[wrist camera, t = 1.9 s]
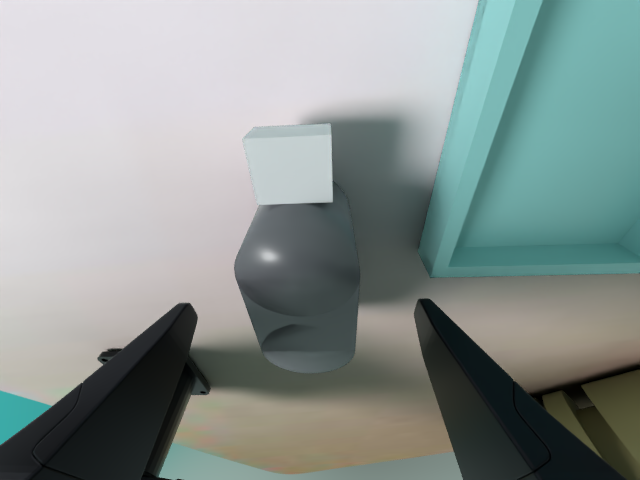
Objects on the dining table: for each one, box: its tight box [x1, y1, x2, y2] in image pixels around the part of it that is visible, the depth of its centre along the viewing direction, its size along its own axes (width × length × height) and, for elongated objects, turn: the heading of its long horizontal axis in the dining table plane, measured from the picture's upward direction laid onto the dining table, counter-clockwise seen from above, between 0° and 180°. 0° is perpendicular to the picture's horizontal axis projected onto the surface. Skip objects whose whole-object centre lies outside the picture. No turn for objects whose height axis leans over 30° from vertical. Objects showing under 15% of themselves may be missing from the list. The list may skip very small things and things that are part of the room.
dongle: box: [234, 123, 360, 373], centre depth 10 cm, size 10×4×4 cm, turn 3°
